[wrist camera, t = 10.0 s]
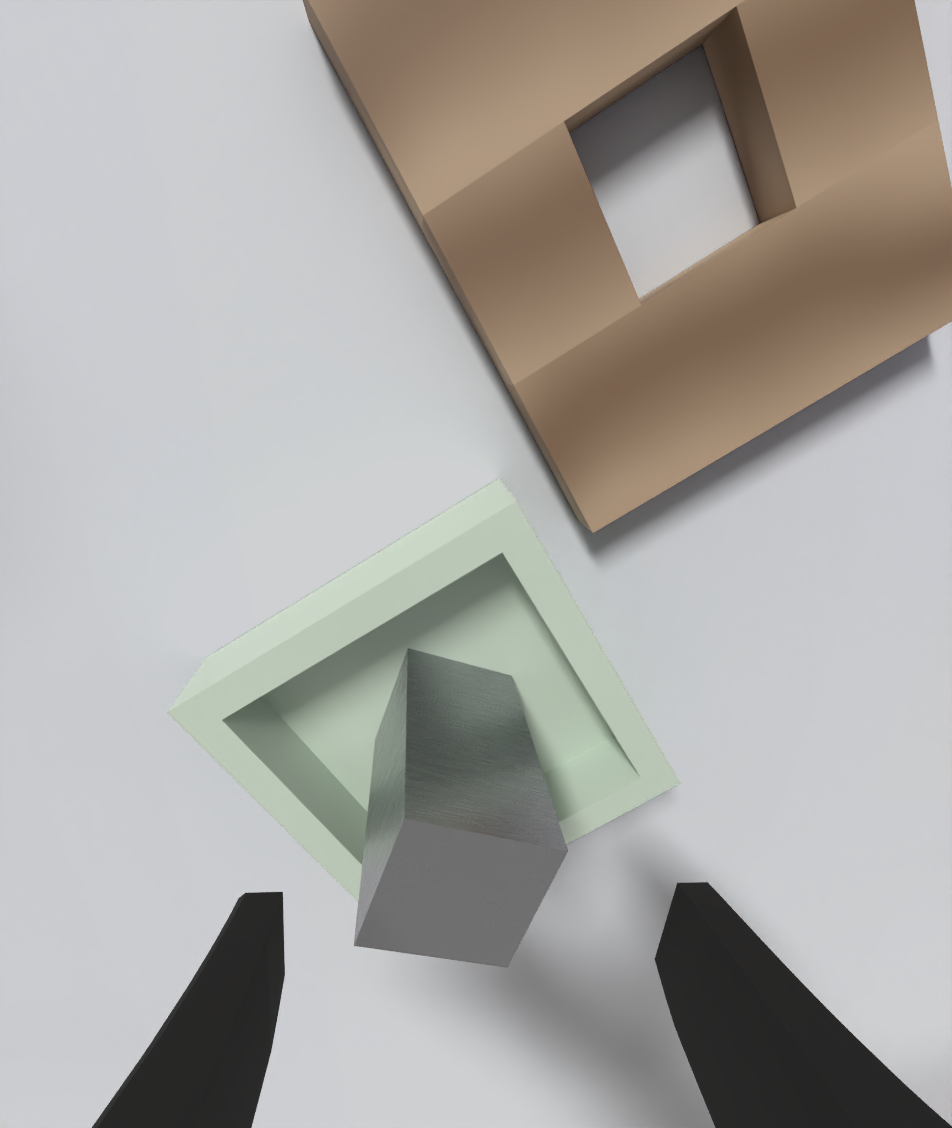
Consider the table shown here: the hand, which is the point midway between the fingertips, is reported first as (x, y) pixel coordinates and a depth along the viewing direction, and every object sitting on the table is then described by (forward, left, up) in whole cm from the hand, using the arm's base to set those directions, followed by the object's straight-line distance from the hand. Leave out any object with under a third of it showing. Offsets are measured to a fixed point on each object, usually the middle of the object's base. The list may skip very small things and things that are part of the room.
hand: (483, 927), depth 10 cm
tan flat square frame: (+9, -12, -9) cm, 18 cm away
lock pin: (-1, +1, -8) cm, 9 cm away
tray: (-1, +1, -9) cm, 9 cm away
